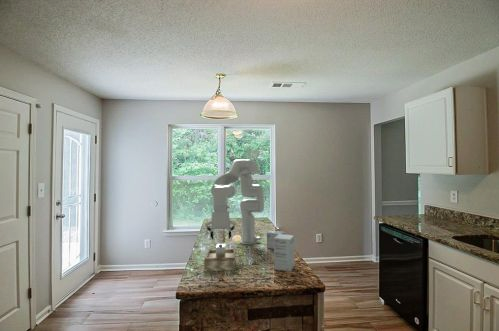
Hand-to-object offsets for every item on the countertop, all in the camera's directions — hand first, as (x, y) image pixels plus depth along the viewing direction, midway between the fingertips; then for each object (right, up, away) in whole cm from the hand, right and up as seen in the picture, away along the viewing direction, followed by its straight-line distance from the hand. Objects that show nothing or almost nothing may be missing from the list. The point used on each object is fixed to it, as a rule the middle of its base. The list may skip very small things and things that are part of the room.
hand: (221, 238), depth 155 cm
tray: (0, -15, -1) cm, 15 cm away
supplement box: (+35, -15, -5) cm, 39 cm away
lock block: (0, -10, -1) cm, 10 cm away
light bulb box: (+34, -15, +32) cm, 49 cm away
